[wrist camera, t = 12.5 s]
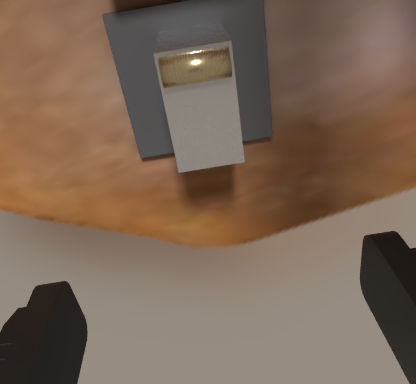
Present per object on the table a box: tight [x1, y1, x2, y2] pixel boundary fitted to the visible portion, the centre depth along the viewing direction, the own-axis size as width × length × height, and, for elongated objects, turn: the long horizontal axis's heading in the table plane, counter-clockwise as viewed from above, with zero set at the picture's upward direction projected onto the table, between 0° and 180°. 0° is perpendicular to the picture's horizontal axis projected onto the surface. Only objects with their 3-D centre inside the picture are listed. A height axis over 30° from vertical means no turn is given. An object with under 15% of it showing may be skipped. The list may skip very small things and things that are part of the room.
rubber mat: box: [102, 0, 273, 158], centre depth 27 cm, size 10×10×1 cm
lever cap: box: [153, 22, 245, 173], centre depth 24 cm, size 7×4×7 cm, turn 8°
